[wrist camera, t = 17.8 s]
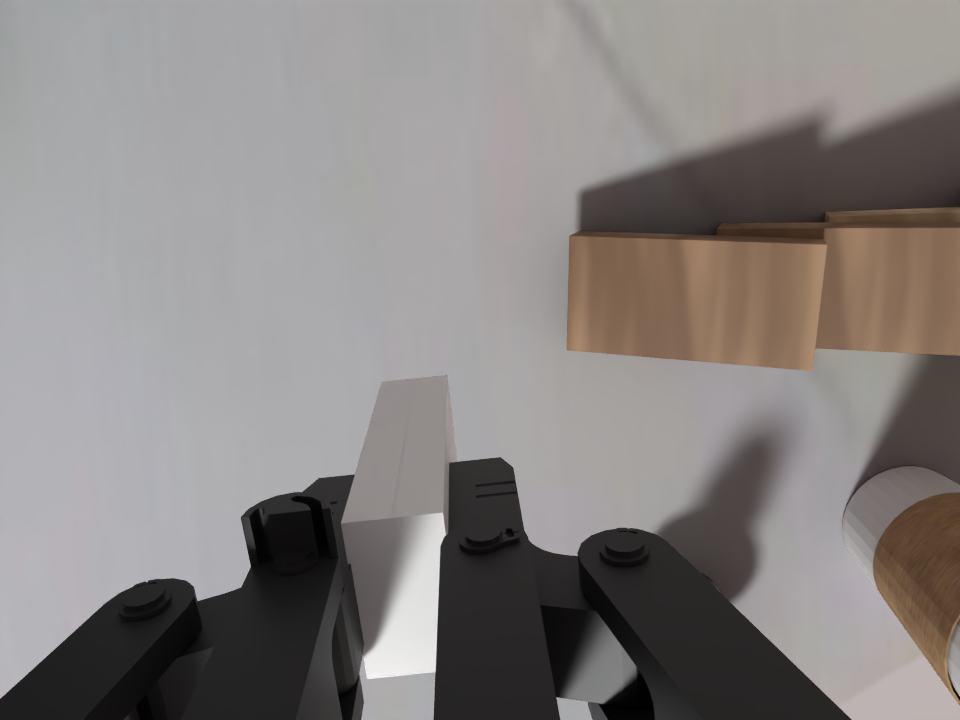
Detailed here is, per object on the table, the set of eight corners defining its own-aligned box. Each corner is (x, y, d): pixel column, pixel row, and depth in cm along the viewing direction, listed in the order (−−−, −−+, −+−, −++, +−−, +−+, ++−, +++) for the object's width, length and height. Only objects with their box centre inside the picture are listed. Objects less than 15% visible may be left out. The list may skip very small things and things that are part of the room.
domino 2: (712, 342, 34) (978, 356, 30) (716, 228, 32) (995, 227, 29) (718, 331, 36) (969, 343, 32) (721, 223, 34) (985, 221, 30)
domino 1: (566, 350, 34) (812, 371, 30) (569, 236, 32) (827, 244, 29) (576, 339, 36) (810, 357, 32) (580, 230, 34) (823, 238, 31)
